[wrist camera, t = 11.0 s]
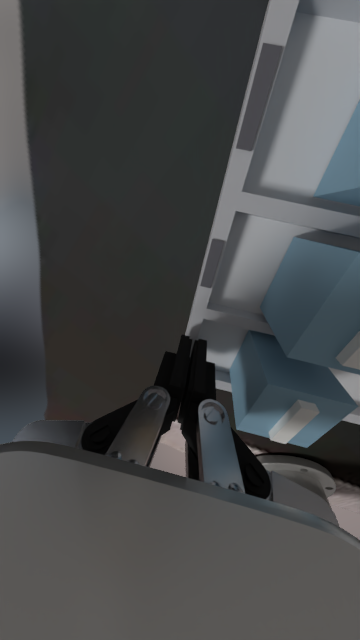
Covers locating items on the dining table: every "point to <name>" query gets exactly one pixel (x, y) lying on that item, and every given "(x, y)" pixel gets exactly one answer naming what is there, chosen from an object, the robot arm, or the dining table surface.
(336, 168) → the blue and white block
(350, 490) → the dining table surface
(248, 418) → the blue plastic block
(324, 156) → the switch box
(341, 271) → the blue slider knob
